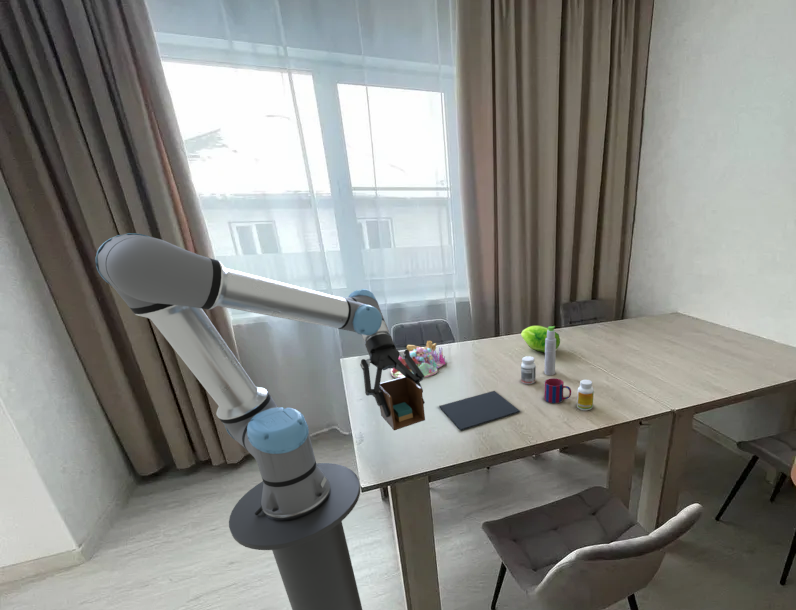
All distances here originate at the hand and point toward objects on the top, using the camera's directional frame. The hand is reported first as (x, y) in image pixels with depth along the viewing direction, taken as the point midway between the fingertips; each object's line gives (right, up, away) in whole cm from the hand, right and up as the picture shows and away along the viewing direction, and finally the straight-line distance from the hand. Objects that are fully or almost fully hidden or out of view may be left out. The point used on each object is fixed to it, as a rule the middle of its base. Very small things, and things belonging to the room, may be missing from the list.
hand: (405, 409), depth 108 cm
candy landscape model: (-12, +12, +65) cm, 67 cm away
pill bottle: (+35, +6, +50) cm, 61 cm away
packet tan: (-2, -2, +4) cm, 5 cm away
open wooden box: (-2, -3, +4) cm, 5 cm away
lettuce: (+42, +20, +82) cm, 94 cm away
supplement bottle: (+54, -2, +30) cm, 62 cm away
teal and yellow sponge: (-2, -1, +3) cm, 4 cm away
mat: (+18, -3, +29) cm, 34 cm away
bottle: (+45, +9, +57) cm, 73 cm away
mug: (+45, 0, +35) cm, 57 cm away
